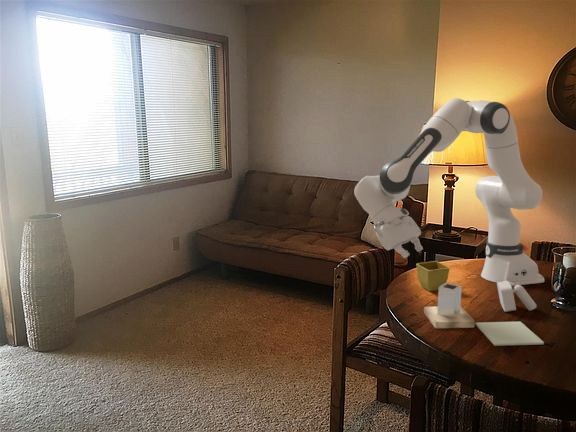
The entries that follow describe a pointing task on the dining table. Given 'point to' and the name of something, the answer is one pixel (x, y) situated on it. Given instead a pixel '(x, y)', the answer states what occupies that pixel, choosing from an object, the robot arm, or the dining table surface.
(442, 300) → the steel sleeve
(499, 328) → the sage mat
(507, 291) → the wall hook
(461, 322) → the peg stand
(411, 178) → the robot arm
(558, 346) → the dining table surface
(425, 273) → the flower pot
